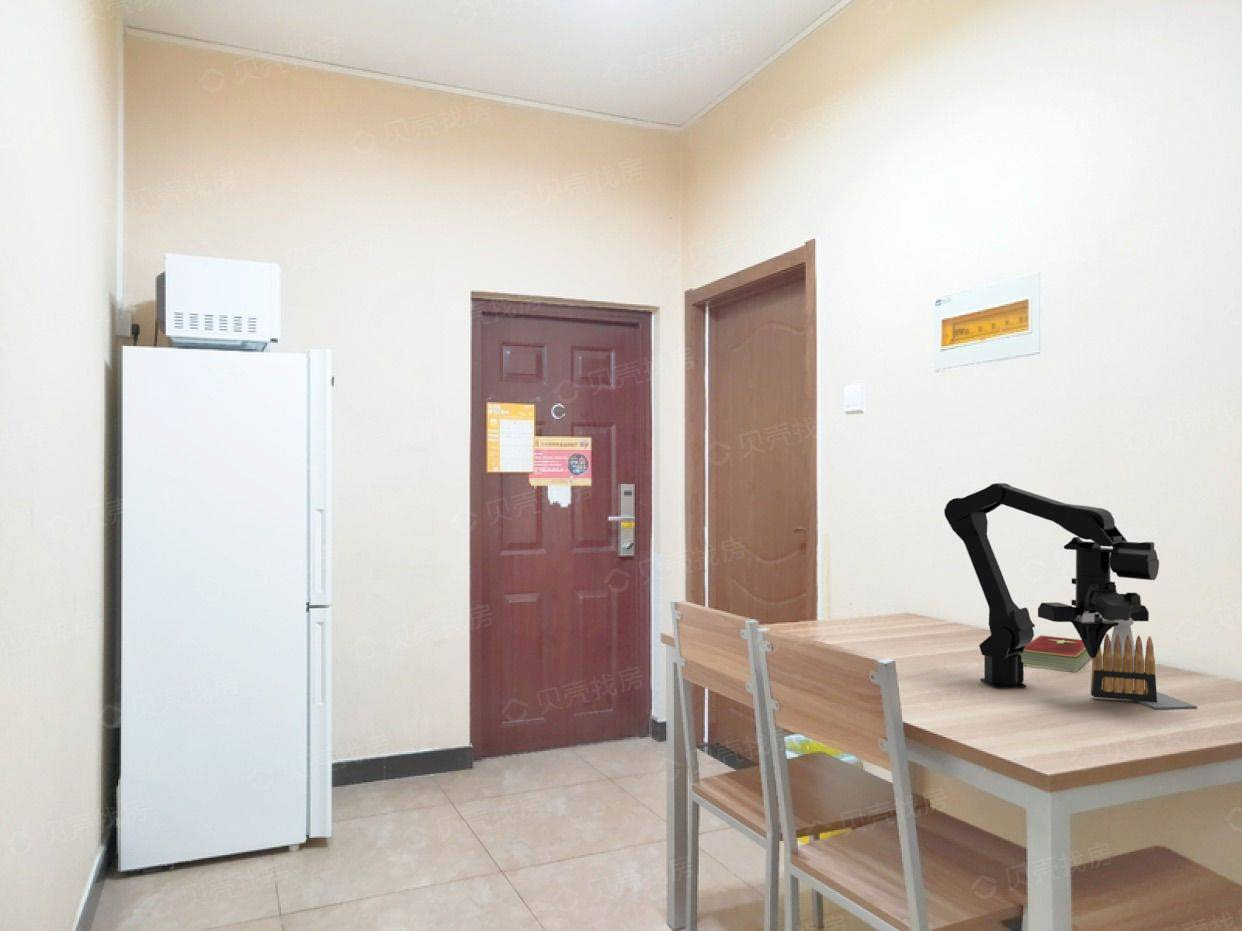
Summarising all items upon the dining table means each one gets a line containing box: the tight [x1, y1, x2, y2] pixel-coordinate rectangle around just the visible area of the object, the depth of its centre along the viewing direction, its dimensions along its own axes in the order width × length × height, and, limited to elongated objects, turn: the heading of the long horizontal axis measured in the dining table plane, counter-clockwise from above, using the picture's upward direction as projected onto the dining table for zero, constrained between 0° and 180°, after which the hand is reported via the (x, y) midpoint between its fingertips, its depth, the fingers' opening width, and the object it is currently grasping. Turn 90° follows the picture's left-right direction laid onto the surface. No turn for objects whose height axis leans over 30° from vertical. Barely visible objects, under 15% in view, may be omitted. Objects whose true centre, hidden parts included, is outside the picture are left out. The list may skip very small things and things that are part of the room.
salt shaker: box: [1110, 618, 1135, 671], centre depth 183 cm, size 6×6×13 cm
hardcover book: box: [1019, 635, 1091, 673], centre depth 197 cm, size 12×21×4 cm, turn 142°
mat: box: [1132, 689, 1198, 711], centre depth 163 cm, size 8×12×1 cm, turn 5°
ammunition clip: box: [1090, 633, 1158, 702], centre depth 162 cm, size 11×2×12 cm, turn 71°
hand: (1092, 657), depth 162 cm, fingers closed
